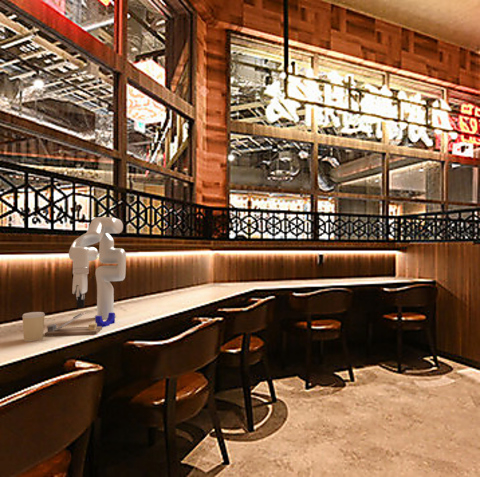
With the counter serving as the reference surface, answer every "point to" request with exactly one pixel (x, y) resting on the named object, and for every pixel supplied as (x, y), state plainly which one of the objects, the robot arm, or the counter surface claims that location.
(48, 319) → the counter surface
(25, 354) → the counter surface
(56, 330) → the strap
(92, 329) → the board
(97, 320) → the cable clip
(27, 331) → the coffee cup
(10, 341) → the counter surface
